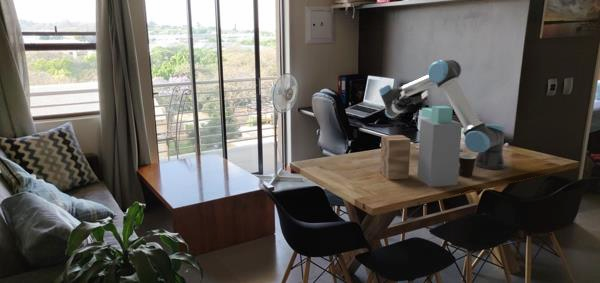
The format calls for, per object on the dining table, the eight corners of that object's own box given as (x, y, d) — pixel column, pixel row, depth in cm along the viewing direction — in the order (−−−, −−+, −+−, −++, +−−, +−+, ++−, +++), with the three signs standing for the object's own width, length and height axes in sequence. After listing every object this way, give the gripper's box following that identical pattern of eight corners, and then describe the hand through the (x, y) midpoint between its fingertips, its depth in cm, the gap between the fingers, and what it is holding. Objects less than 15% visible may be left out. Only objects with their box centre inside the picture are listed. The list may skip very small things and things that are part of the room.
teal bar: (418, 115, 229) (419, 102, 227) (431, 115, 230) (432, 101, 228) (437, 123, 209) (438, 108, 207) (451, 122, 210) (452, 107, 208)
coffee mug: (472, 178, 223) (474, 159, 221) (454, 176, 228) (456, 157, 226) (477, 173, 233) (478, 154, 231) (460, 170, 237) (461, 152, 235)
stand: (417, 178, 225) (420, 119, 219) (443, 176, 228) (447, 118, 221) (429, 186, 212) (433, 124, 205) (457, 185, 214) (461, 123, 207)
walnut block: (380, 173, 234) (381, 135, 229) (400, 171, 236) (401, 134, 231) (387, 179, 223) (389, 140, 219) (408, 178, 225) (410, 139, 221)
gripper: (420, 111, 263) (438, 99, 243) (380, 111, 258) (395, 98, 238) (419, 99, 265) (436, 86, 245) (379, 98, 260) (393, 85, 240)
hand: (416, 92), depth 241 cm, fingers open, 13 cm apart
